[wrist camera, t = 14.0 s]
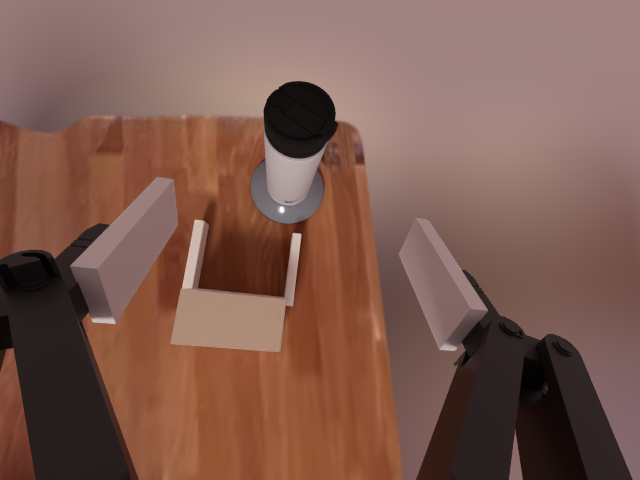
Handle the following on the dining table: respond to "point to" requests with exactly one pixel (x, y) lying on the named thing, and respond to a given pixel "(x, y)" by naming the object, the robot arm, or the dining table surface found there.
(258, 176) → the coaster
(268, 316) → the beige u-shaped block
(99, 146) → the dining table surface
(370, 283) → the dining table surface
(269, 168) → the travel mug
